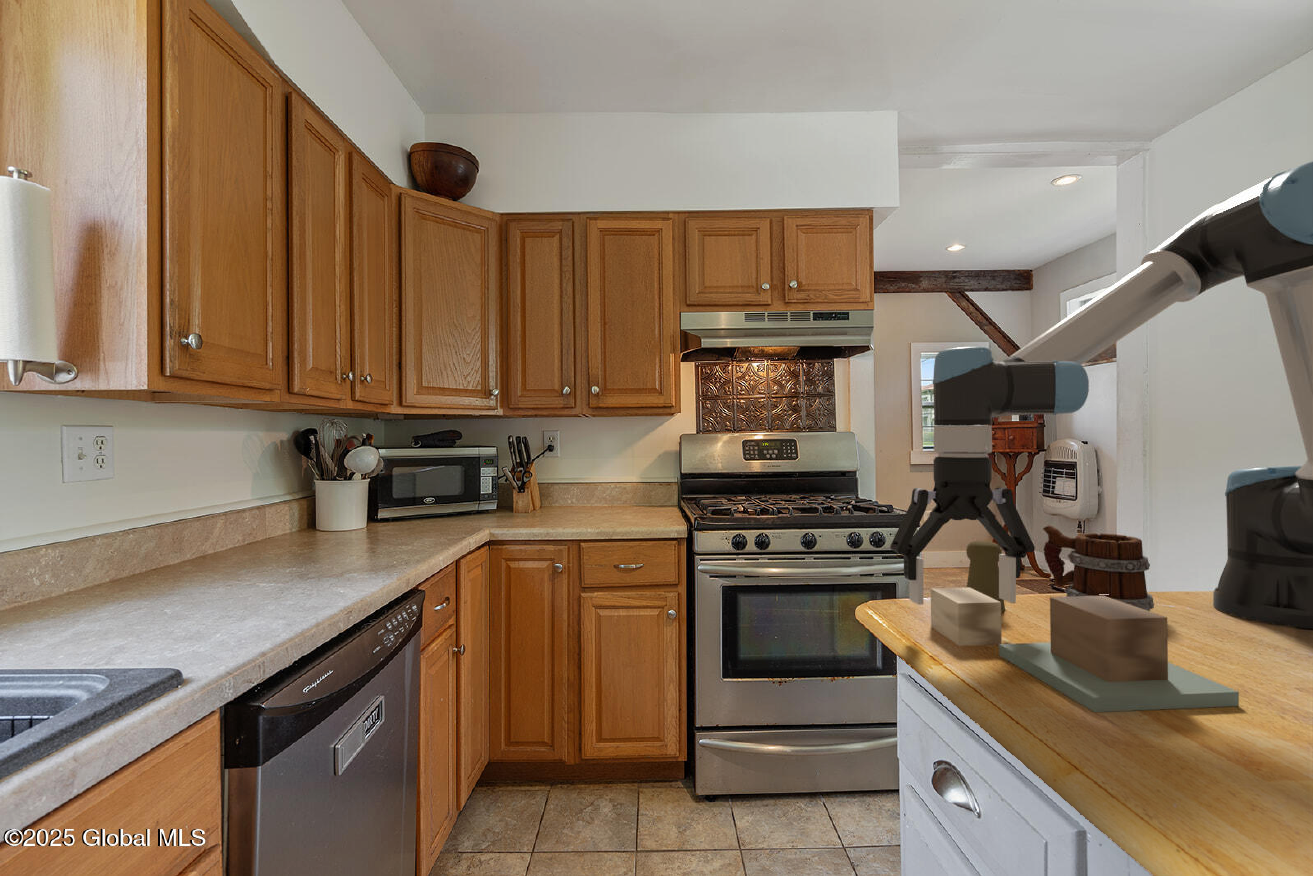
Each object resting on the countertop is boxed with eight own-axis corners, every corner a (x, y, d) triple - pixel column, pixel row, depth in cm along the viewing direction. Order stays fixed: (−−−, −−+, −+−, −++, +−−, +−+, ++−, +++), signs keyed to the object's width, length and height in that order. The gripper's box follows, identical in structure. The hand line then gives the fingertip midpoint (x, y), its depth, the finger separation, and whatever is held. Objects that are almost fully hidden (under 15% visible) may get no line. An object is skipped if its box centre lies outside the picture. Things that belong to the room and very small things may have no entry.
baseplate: (1115, 651, 79) (1115, 640, 79) (1238, 706, 63) (1238, 692, 63) (999, 655, 78) (999, 644, 78) (1094, 712, 62) (1094, 697, 62)
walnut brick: (1104, 650, 76) (1103, 595, 76) (1168, 679, 67) (1167, 617, 67) (1050, 652, 75) (1049, 597, 75) (1107, 681, 66) (1106, 619, 66)
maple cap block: (970, 626, 90) (969, 587, 90) (1001, 645, 82) (1000, 602, 82) (931, 627, 90) (930, 588, 90) (958, 646, 82) (958, 603, 82)
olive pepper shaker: (982, 613, 96) (981, 545, 96) (956, 603, 102) (955, 539, 102) (1014, 610, 98) (1013, 543, 98) (986, 600, 104) (985, 537, 103)
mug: (1156, 624, 89) (1132, 524, 91) (1047, 620, 99) (1028, 530, 101) (1168, 608, 97) (1147, 516, 98) (1066, 606, 107) (1048, 522, 109)
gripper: (1027, 454, 91) (1027, 592, 91) (867, 454, 89) (867, 595, 90) (1063, 455, 83) (1063, 607, 83) (889, 456, 82) (889, 610, 82)
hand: (961, 601), depth 86 cm, fingers open, 13 cm apart
